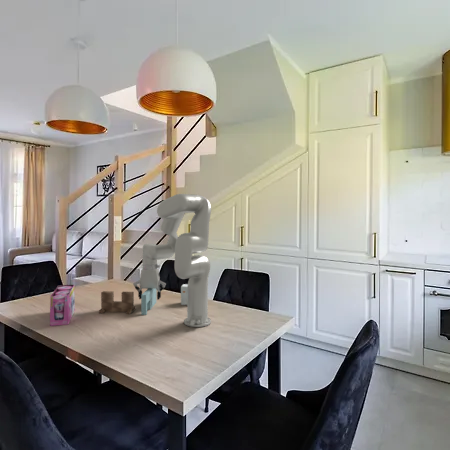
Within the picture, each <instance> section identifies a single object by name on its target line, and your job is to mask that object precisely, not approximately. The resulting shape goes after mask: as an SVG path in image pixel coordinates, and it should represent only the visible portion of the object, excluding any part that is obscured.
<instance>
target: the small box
mask: <svg viewBox="0 0 450 450" xmlns="http://www.w3.org/2000/svg"><path fill="white" fill-rule="evenodd" d="M187 287H188V283H185V284H184V283H183V284H182V285H181V286H180V305H181V306H187Z"/></svg>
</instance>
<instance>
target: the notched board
mask: <svg viewBox="0 0 450 450" xmlns="http://www.w3.org/2000/svg"><path fill="white" fill-rule="evenodd" d="M140 300H141V307H140V308H141V313H140V314H141V315H142V316H144V315H145V316H147V315H148V310H150V311H151V310H152V309H153V307H154V306H155V305H156V304H157V289H146V290H145V291H144V292H142V295H141V299H140Z"/></svg>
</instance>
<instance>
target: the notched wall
mask: <svg viewBox="0 0 450 450" xmlns="http://www.w3.org/2000/svg"><path fill="white" fill-rule="evenodd" d="M100 296H101V297H100V304H101V305H100V306H101V308H100V309H99V310H98V314H105V313H126V315H131V314H132V313H133V312H134V311H135V310H136V305H135V304H134V298H135V297H134V291H122V292H121V301H117V300H114V291H108V290H107V291H104V290H103V291H101V292H100Z"/></svg>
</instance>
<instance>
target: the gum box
mask: <svg viewBox="0 0 450 450" xmlns="http://www.w3.org/2000/svg"><path fill="white" fill-rule="evenodd" d="M75 293H76V292H75V284H63V285H62V284H61V285H57V287H56V288H55V289H54V291H53V292H52V293H51V294H50V296H49V299H50V302H49V326H51V327H54V326H55V327H56V326H65V325H69V324H70V322H71V319H72V317H73V315H74V313H75V311H76V308H75V307H76V304H75V303H76V301H75V300H76V299H75V298H76V297H75Z"/></svg>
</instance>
